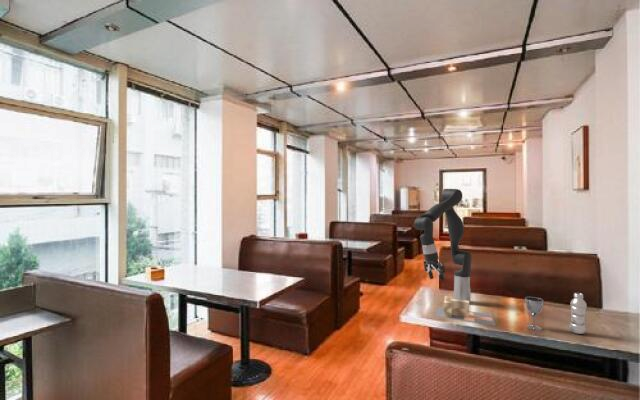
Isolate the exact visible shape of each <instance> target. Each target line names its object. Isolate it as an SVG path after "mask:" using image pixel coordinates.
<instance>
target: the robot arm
mask: <svg viewBox="0 0 640 400" xmlns="http://www.w3.org/2000/svg"><path fill="white" fill-rule="evenodd" d="M440 198H441V199H440V200H441V202H439V203H436V204H434V205H432V206H431V207H429V208H430V209H428V210H427V211H426V212H424V213H423V214H421V215H419V216H418V217H416V218H415V220H414V222H413V228H415V229H416V230H417V231H424V232H423V233H422V234H421V235H420V236H419V238H420V243H421V246H422V254H423V257H424V260H423V263H422V264H423V267H424V271H425V272H427V273H428V278H429V279H430V280H433V279H434V278H435V277H434V273H433V271H435V272H436V273H437V274H438V277H439V281H440V282H442V281H444V280H445V277H444V274H446V269H445V266H444V263H443V262H439V258H440V257H439V253H438V250H437V245H436V244H435V239H434V222H436V221H437V220H438V219H439V218H440V217H441V216H442V215H443V214H444V213H445V217H446V225H447V231H448V235H449V241H450V254H451V260H452V263H453V264H454V265H458V266H459V265H460V266H461V267H462V268H460V269H455V270H454V272H453V273H454V275H453V277H454V278H453V299H458V300H466V301H469V304H470V303H471V294H472V293H471V287H470V286H471V285H470V284H471V283H470V282H471V280H470V279H471V271H472V253H471V252H470V251H466V250H460V248H459V247H460V246H459V245H460V244H459V243H460V241H461V240H462V238H463V236H464V234H465V229H464V222H463V220H462V218H461V217H460V216H459V214H458V213H457V212H456V211H455V209H454V207H455V206H457V205H458V204H460V203H461V202H462V201H463V192H462V191H461V189H458V188H444V189H443V190H442V191H441V194H440Z"/></svg>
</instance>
